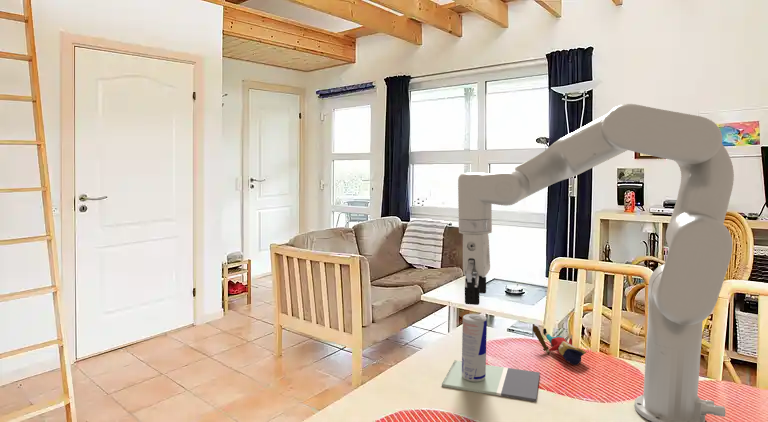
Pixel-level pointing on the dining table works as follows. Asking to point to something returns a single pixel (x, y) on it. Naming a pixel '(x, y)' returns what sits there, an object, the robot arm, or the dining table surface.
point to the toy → (560, 346)
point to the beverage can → (474, 347)
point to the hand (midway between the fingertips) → (475, 298)
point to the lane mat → (496, 382)
